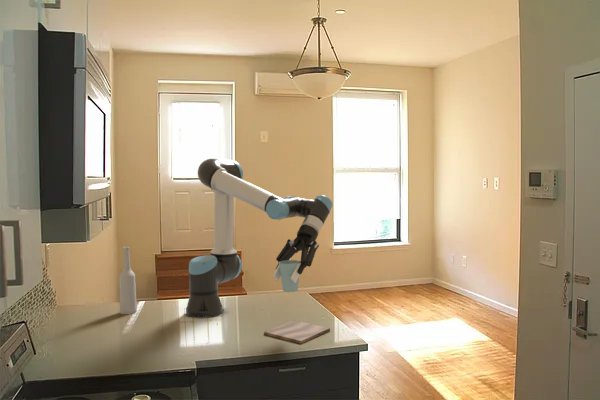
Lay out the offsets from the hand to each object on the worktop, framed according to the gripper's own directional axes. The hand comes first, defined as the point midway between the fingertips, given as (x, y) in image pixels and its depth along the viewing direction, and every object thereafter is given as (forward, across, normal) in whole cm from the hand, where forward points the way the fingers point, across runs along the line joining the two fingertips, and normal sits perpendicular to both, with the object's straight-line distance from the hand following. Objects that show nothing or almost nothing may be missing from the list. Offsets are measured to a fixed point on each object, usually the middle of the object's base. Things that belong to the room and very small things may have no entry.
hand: (284, 279), depth 177 cm
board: (+12, -2, -16) cm, 20 cm away
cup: (+1, 0, -6) cm, 6 cm away
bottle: (+25, +74, -2) cm, 78 cm away
